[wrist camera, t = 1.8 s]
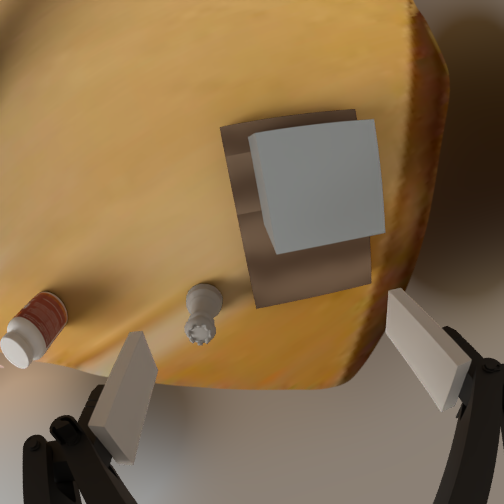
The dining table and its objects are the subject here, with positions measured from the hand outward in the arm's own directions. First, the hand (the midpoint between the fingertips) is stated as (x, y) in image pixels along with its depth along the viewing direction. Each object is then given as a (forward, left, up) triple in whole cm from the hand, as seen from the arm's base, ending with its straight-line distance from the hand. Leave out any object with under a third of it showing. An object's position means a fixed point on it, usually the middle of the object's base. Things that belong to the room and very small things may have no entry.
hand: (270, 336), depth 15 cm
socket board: (-1, +6, -21) cm, 22 cm away
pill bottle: (+6, -30, -21) cm, 37 cm away
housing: (-5, +6, -18) cm, 19 cm away
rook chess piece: (+8, -7, -21) cm, 23 cm away
